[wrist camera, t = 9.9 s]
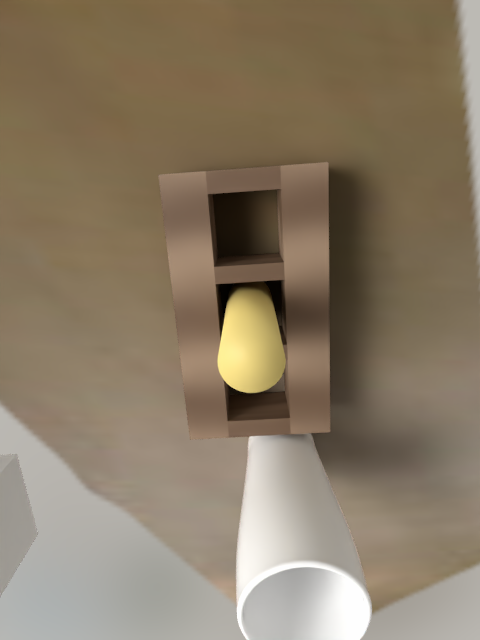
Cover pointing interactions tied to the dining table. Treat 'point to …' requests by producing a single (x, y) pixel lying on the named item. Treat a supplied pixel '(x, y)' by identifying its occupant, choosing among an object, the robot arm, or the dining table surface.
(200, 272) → the hole block
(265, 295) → the peg
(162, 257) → the dining table surface
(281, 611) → the drinking glass
